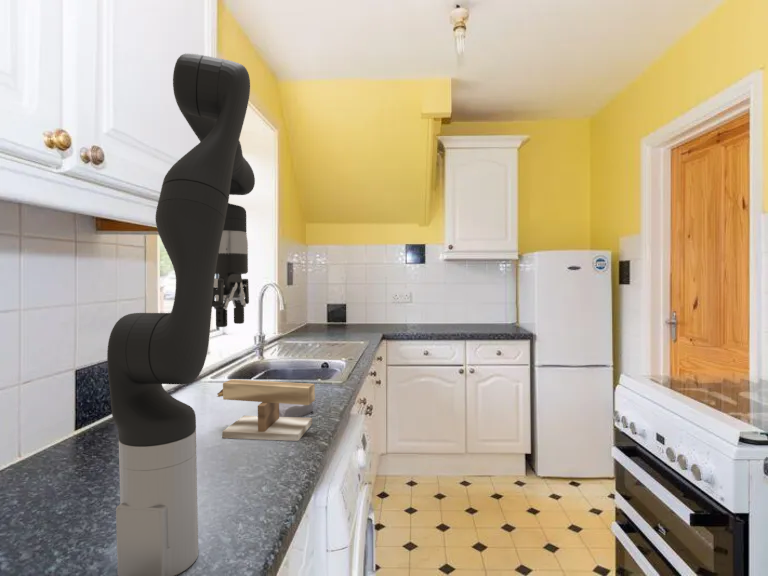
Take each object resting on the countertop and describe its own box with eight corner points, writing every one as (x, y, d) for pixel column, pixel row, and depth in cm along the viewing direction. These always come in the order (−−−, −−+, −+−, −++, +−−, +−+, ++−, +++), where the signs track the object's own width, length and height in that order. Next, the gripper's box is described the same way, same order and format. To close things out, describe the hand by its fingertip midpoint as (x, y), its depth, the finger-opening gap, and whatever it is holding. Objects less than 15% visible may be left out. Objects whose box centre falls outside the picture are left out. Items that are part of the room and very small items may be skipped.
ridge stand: (298, 441, 107) (297, 408, 107) (222, 438, 110) (221, 405, 109) (312, 423, 119) (311, 394, 119) (243, 421, 121) (243, 392, 121)
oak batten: (308, 405, 110) (308, 388, 109) (223, 399, 115) (222, 383, 114) (314, 400, 113) (314, 383, 113) (232, 395, 119) (231, 379, 118)
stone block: (258, 424, 125) (284, 423, 119) (255, 406, 125) (282, 404, 120) (290, 414, 135) (316, 413, 129) (288, 397, 135) (314, 395, 130)
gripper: (231, 250, 98) (232, 328, 99) (258, 254, 112) (259, 322, 113) (197, 250, 99) (198, 328, 100) (228, 254, 113) (229, 322, 114)
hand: (230, 325), depth 106 cm, fingers open, 8 cm apart
